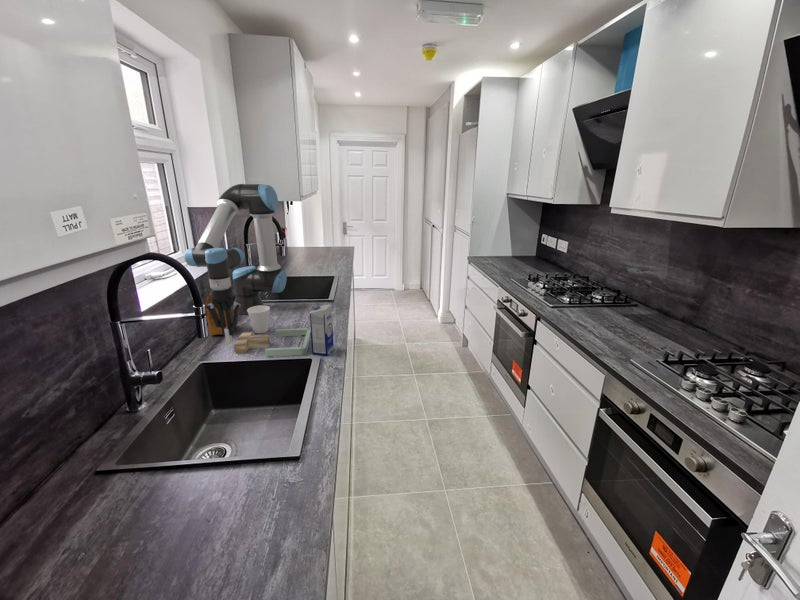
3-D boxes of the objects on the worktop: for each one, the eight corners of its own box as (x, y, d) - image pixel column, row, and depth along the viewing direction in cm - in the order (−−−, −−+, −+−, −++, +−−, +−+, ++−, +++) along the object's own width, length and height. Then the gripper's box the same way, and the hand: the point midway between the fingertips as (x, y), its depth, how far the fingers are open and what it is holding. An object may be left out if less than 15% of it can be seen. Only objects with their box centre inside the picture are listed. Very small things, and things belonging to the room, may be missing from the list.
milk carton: (327, 356, 143) (324, 309, 136) (311, 354, 144) (308, 308, 138) (334, 348, 149) (331, 303, 143) (318, 347, 151) (316, 302, 144)
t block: (243, 340, 155) (242, 332, 154) (272, 339, 157) (271, 331, 156) (235, 353, 144) (234, 344, 143) (266, 352, 146) (265, 343, 144)
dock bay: (276, 335, 161) (276, 329, 160) (311, 334, 163) (311, 328, 162) (266, 357, 141) (265, 350, 140) (306, 355, 143) (305, 348, 142)
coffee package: (238, 325, 171) (232, 281, 164) (229, 336, 160) (222, 289, 153) (216, 326, 170) (209, 281, 163) (206, 336, 159) (198, 289, 152)
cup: (276, 327, 170) (273, 305, 166) (266, 336, 160) (263, 313, 157) (256, 326, 170) (253, 304, 167) (245, 334, 161) (242, 312, 158)
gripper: (199, 290, 137) (209, 346, 144) (235, 290, 138) (242, 345, 146) (207, 285, 144) (216, 338, 151) (241, 284, 145) (248, 337, 153)
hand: (229, 341), depth 148 cm, fingers closed
